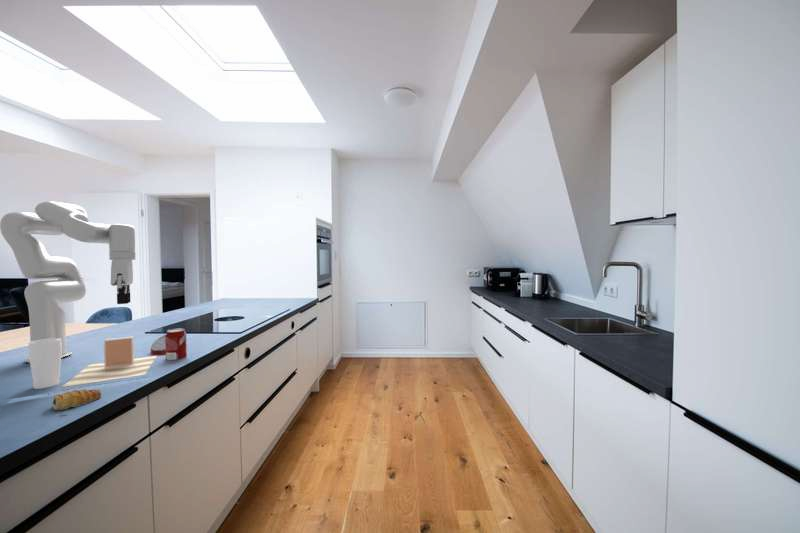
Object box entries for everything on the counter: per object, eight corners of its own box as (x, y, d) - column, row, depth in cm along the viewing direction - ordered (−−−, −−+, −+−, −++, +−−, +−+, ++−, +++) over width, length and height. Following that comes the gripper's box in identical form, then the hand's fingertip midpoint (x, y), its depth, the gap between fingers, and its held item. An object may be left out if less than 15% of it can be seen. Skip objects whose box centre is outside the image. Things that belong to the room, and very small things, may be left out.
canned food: (180, 363, 132) (185, 344, 130) (150, 366, 125) (155, 347, 122) (175, 346, 139) (180, 328, 137) (146, 349, 132) (151, 330, 129)
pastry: (97, 394, 92) (97, 381, 91) (104, 400, 88) (103, 387, 88) (50, 407, 84) (50, 393, 84) (55, 414, 80) (54, 399, 80)
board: (89, 367, 114) (89, 364, 114) (157, 358, 125) (157, 355, 124) (61, 390, 94) (61, 387, 94) (145, 377, 104) (145, 374, 104)
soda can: (175, 363, 118) (175, 332, 118) (161, 362, 119) (160, 331, 119) (191, 357, 125) (190, 328, 124) (177, 356, 126) (176, 327, 126)
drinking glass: (32, 394, 91) (30, 344, 91) (27, 389, 95) (26, 341, 94) (65, 386, 97) (64, 339, 96) (60, 382, 100) (58, 336, 100)
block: (106, 366, 112) (105, 339, 112) (134, 362, 116) (133, 336, 116) (104, 368, 110) (103, 340, 110) (133, 364, 115) (132, 337, 114)
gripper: (115, 256, 124) (117, 301, 125) (102, 255, 110) (104, 306, 111) (139, 256, 128) (140, 300, 129) (130, 255, 114) (131, 305, 115)
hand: (123, 302), depth 120 cm, fingers open, 2 cm apart
